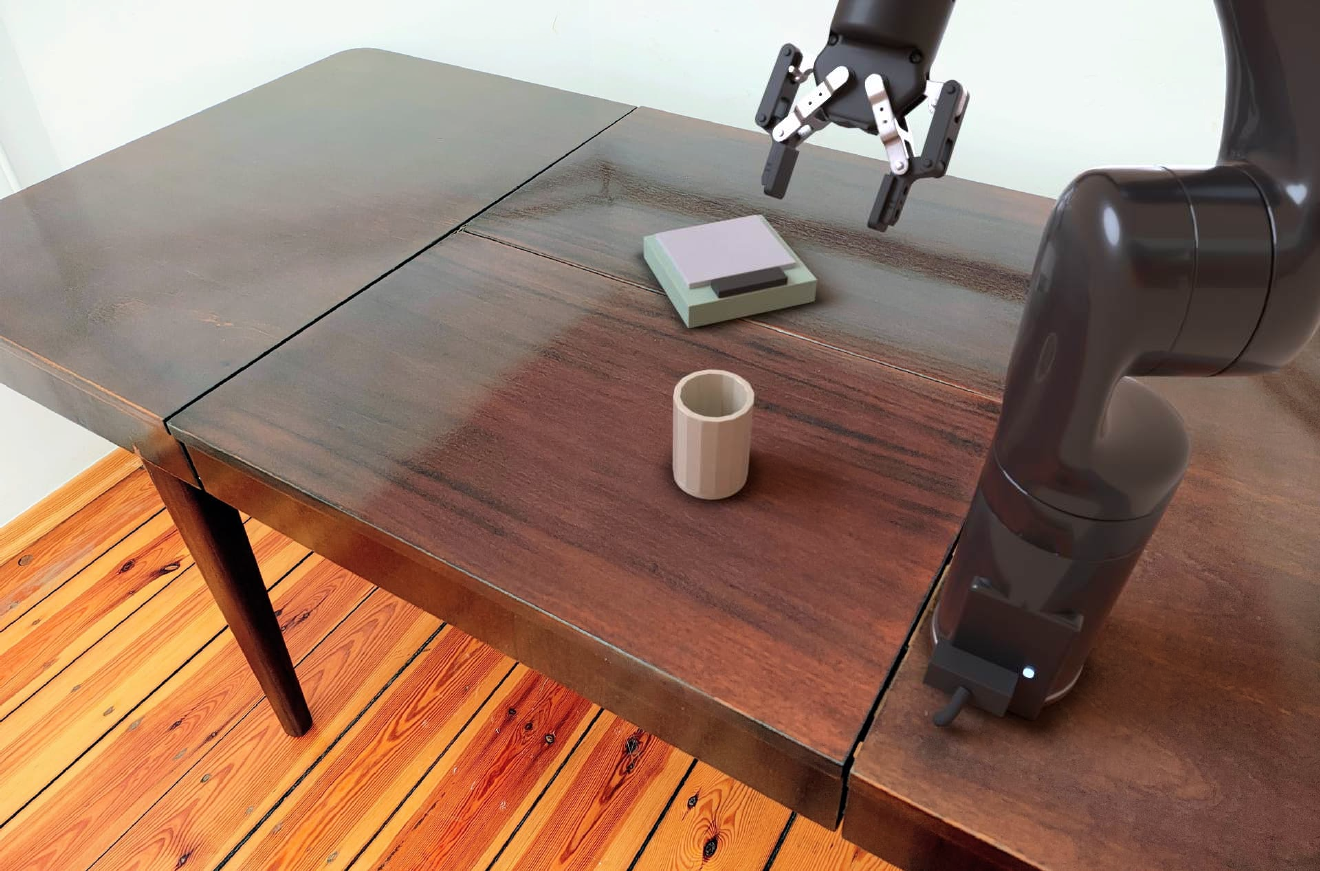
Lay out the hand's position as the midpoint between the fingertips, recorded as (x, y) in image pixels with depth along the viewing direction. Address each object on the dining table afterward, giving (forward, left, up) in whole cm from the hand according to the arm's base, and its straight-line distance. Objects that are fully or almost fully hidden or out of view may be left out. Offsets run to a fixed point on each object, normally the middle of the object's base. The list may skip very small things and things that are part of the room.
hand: (822, 213), depth 67 cm
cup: (-11, +3, -18) cm, 21 cm away
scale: (+14, +14, -18) cm, 26 cm away
